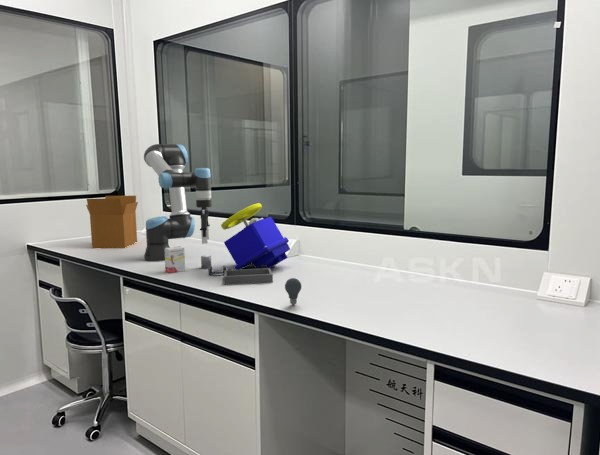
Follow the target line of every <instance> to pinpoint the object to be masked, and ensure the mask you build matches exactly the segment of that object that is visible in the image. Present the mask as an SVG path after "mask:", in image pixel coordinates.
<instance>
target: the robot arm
mask: <svg viewBox="0 0 600 455" xmlns="http://www.w3.org/2000/svg"><path fill="white" fill-rule="evenodd" d="M143 153H144V154H143V160H144V162H145V164H146V165H147V166H148V167H150V168H152V170H153V171H154V173H156V175H157V176H158V184H159V187H160V188H163V189H164V188H165V189H169V198H170V205H171V206H170V207H171V213H170V214H169V215H168V216H169V218H168V216H166V215H165V216H164V215H163V216H162V215H161V216H154V217H151V218H149V219H147V220H146V221H145V235H146V238H145V239H146V247H145V251H144V254H143V255H144V256H143V257H144V258H143V259H144V261H146V262H147V261H148V262H163V261H165V248H170V247H171V246H170V245H169V240H174V239H186V238H190V237H192V236H193V235H194V233H195V229H196V223H195V218H194V217H193V216H191V213H190V212H189V211H188V209H187V208H188V206H187V200H186V199H187V198H186V189H185V188H195V192H194V195H195V199H196V200H195V203H196V204H195V206H196V208H201V209H200V211H199V215H200V229H199V231H201V244H202V245H203V244H208V242H209V241H208V240H210V237H209V236H210V235H209V233H210V231H209V230H210V229H209V227H210V225H211V224H209V210H208V208H211V207H213V206H212V205H213V204H212V180H211V179H212V178H211V177H212V176H211V169H210V168H209V167H198V168H197V167H196V168H195V170H194V171H191V172H189V171H188V172H187V171H186V172H185V171H184V169H185V168H186V165H187V164H188V162H189V161H188V159H189V156H188V152H187V149H186V147H185V146H184V145H182V144H177V143H175V144H174V143H173V144H172V143H171V144H170V143H169V144H168V143H165V144H163V143H162V144H161V143H156V144H152V145H150V146H149V147H147V149H146V150H145V151H144V152H143Z"/></svg>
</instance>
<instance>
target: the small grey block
mask: <svg viewBox="0 0 600 455" xmlns="http://www.w3.org/2000/svg"><path fill="white" fill-rule="evenodd" d="M200 261H201V263H200V264H201V267H200V268H201V269H202V270H208V267H210V266H212V255H209V254H208V255H207V254H205V255H201V257H200Z"/></svg>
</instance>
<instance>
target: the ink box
mask: <svg viewBox="0 0 600 455" xmlns="http://www.w3.org/2000/svg"><path fill="white" fill-rule="evenodd" d="M169 247H170V248H165V260H164V266H165V268H164V270H165V273H167V274H173V273H180V272H185V271H186V260H185V258H186V256H185V247H183V246H169Z"/></svg>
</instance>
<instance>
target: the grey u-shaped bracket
mask: <svg viewBox="0 0 600 455" xmlns="http://www.w3.org/2000/svg"><path fill="white" fill-rule="evenodd" d="M207 270H208V276H209V277H222V276H224V272H225V270H227V265H223V266H222V270H218V271H217V270H215V271H213V266H212V265H211V266H210V267H208V269H207Z"/></svg>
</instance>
